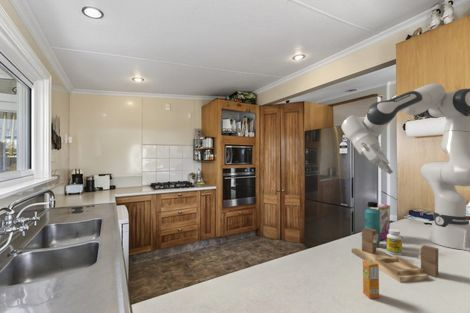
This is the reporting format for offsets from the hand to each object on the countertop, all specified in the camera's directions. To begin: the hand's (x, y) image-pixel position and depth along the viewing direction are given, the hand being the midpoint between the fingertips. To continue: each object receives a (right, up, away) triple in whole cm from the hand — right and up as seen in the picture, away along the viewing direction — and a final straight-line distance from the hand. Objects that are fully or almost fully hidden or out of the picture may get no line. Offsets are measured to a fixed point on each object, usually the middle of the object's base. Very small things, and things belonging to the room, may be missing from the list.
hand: (388, 172), depth 96 cm
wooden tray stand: (-6, -35, -7) cm, 36 cm away
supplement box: (-23, -35, -27) cm, 50 cm away
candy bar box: (+10, -35, +22) cm, 43 cm away
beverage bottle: (0, -35, +12) cm, 37 cm away
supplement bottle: (+5, -35, +4) cm, 36 cm away
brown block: (+5, -35, -14) cm, 38 cm away
